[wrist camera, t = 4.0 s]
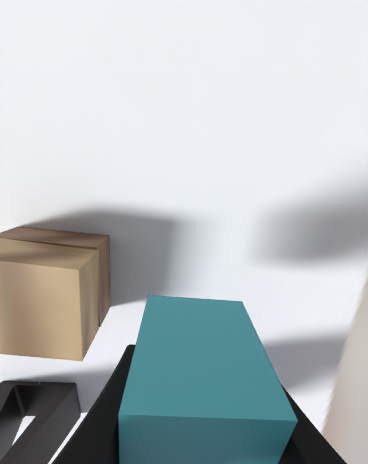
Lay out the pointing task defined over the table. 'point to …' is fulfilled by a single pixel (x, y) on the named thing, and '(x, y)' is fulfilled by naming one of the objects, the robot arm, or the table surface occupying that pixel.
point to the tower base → (73, 241)
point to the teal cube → (201, 389)
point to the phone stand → (35, 419)
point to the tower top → (48, 299)
